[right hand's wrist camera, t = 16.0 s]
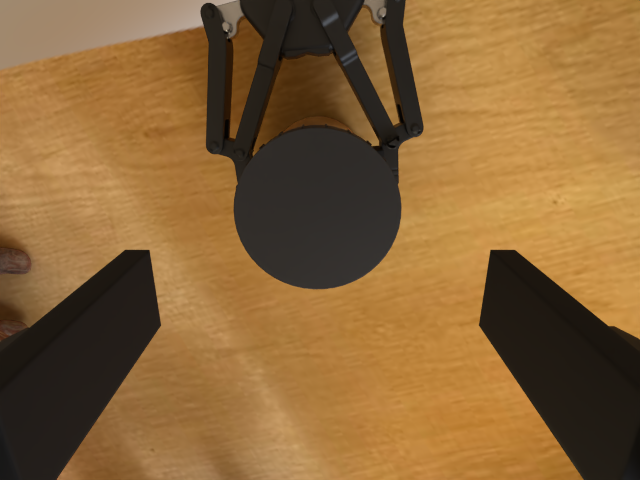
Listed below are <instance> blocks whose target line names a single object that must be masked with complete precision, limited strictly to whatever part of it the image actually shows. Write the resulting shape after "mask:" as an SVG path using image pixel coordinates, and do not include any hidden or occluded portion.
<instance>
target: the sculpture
mask: <svg viewBox="0 0 640 480" xmlns="http://www.w3.org/2000/svg"><path fill="white" fill-rule="evenodd" d="M30 269H31V260H30V258H29V257H28V255H27V254H26V253H24V252H23V251H19V250H15V249H10V248H0V274H7V273H10V274H25V273H27V272H29V271H30ZM25 328H28V327H27V326H26V324H24V323H23V322H18V321H13V320H0V341H2V340H3V339H5V338H7V337H9V336H11V335H13V334H15V333H17V332H19V331H21V330H23V329H25Z"/></svg>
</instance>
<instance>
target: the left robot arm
mask: <svg viewBox="0 0 640 480" xmlns="http://www.w3.org/2000/svg"><path fill="white" fill-rule="evenodd" d="M405 1H406V0H238V1H234V2H230V3H226V4H223V5H219V6H215V5H214V4H212V3H206V4H204V5H203V6H202V7H201V17H202V21H203V24H204V28H205V31H206V34H207V38H208V41H209V55H208V92H207V129H206V148H207V150H208V151H209V152H210V153H212V154H220V155H223V156H227V157H229V158H231V159H232V160H233V162H234V164H235V169H236V175H237V182H239V179H240V177H241V175H242V172H243V170H244V168H245V165H246V164H247V163H248V162H249V161H250V160H251V158H252V157H253V154H252V153H253V151H254V150H253V149H254V146H255V142H256V139H257V136H258V133H259V130H260V127H261V124H262V120H263V117H264V114H265V111H266V108H267V105H268V101H269V98H270V95H271V92H272V89H273V86H274V83H275V79H276V76H277V73H278V71H279V69H280V66H281V63H282V60H283V58H286V59H297V58H300V57H302V56H305V55H313V56H318V57H319V56H329V54H332V53H333V54H334V56H335V58H336V60H337V62H338V64H339V66H340V67H341V69H342V71H343V73H344V75H345V76H346V78H347V80H348V82H349V84H350V86H351V88H352V90H353V92H354V94H355V96H356V98H357V99H358V101H359V103H360V105H361V107H362V109H363V111H364V113H365V115H366V117H367V119H368V121H369V122H370V124H371V126H372V128H373V130H374V132H375V134H376V136H377V138H378V140H379V146H372V147H373V148H374V149H375V150H376V151H377V152H378V153H379V154H380V155H381V156H382V157H384V158H385V159H386V160H387V164H388V165H389V167H390V169H391V171H392V173H393V174H394V177H395V179H396V180H397V185H398V183H399V176H398V149H399V146H400V145H401V144H402V143H403V142H404V141H406V140H408V139H410V138H413V137H418V136H419V135H421V134H422V132H423V122H422V117H421V112H420V107H419V102H418V97H417V92H416V87H415V82H414V77H413V72H412V68H411V63H410V58H409V53H408V48H407V43H406V38H405V33H404V28H403V18H404V10H405ZM362 7H363V8H366V9H368V10H369V12H370V14H371V20H372V22H373V23H374V24H375V25H377V26H380V32H381V40H382V45H383V50H384V54H385V59H386V63H387V68H388V72H389V77H390V81H391V86H392V90H393V95H394V99H395V104H396V108H397V113H398V117H399V122H400V123H398V124H396V125H394V126H393V124H392V122H391V120H390V118H389V116H388V114H387V112H386V111H385V109H384V107H383V105H382V103H381V101H380V99H379V97H378V95H377V93H376V91H375V89H374V87H373V85H372V83H371V81H370V79H369V77H368V75H367V73H366V71H365V69H364V67H363V65H362V63H361V61H360V59H359V57H358V54H357V51H356V49H355V47H354V45H353V43H352V41H351V39H350V37H349V35H348V31H349V29H350V28H351V26H352V24H353V22H354V20H355V19H356V17H357V15H358V13H359V12H360V10H361V8H362ZM245 18H246V19H247V20H248V21H249V22H250V24H251V25H252V26H253V27H254V28H255V30H256V31H257V32H258V33H259V35H260V36H261V37H262V38H263V39H264V41H263V45H262V48H261V51H260V55H259V58H258V65H257V69H256V72H255V75H254V79H253V82H252V85H251V89H250V92H249V95H248V99H247V102H246V105H245V109H244V112H243V115H242V119H241V122H240V125H239V129H238V132H237V135H236V139H233V138H229V137H230V116H231V94H232V72H233V43H232V39H235V38H236V37H237V36H238V34H239V24H240V22H241V21H242V20H243V19H245Z"/></svg>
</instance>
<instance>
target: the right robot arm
mask: <svg viewBox="0 0 640 480" xmlns="http://www.w3.org/2000/svg"><path fill="white" fill-rule="evenodd" d="M160 326H161V322H160V316H159V309H158V303H157V296H156V290H155V283H154V277H153V270H152V264H151V257H150V251H149V250H125V251H123V252H122V253H121V254H120V255H118V256H117V257H116V258H115V259H113V260H112V261H111V262H110V263H109V264H107V265H106V266H105V267H104V268H102V269H101V270H100V271H99V272H98V273H96V274H95V275H94V276H93V277H91V278H90V279H89V280H88V281H86V282H85V283H84V284H83V285H82V286H80V287H79V288H78V289H77V290H75V291H74V292H73V293H72V294H71V295H69V296H68V297H67V298H66V299H64V300H63V301H62V302H61V303H59V304H58V305H57V306H56V307H55V308H53V309H52V310H51V311H50V312H48V313H47V314H46V315H45V316H44V317H42V318H41V319H40V320H39V321H37V322H36V323H35V324H34V325H32V326H31V327H30V328H25V329H23V330H21V331H19V332H17V333H15V334H13V335H11V336H9V337H7V338H5V339H3V340H2V341H0V480H56V479H57V478H58V476H59V475H60V473H61V472H62V470H63V469H64V467H65V466H66V464H67V463H68V462H69V460H70V459H71V457H72V456H73V454H74V453H75V451H76V450H77V448H78V447H79V445H80V444H81V442H82V441H83V439H84V438H85V437H86V435H87V434H88V432H89V431H90V429H91V428H92V426H93V425H94V423H95V422H96V420H97V419H98V417H99V416H100V414H101V413H102V411H103V410H104V409H105V407H106V406H107V404H108V403H109V401H110V400H111V398H112V397H113V395H114V394H115V392H116V391H117V389H118V388H119V386H120V385H121V384H122V382H123V381H124V379H125V378H126V376H127V375H128V373H129V372H130V370H131V369H132V367H133V366H134V364H135V363H136V361H137V360H138V358H139V357H140V356H141V354H142V353H143V351H144V350H145V348H146V347H147V345H148V344H149V342H150V341H151V339H152V338H153V336H154V335H155V333H156V332H157V331H158V329H159V328H160ZM479 326H480V328H481V329H482V331H483V332H484V333H485V335H486V336H487V338H488V339H489V341H490V342H491V344H492V345H493V347H494V348H495V350H496V351H497V353H498V354H499V356H500V357H501V358H502V360H503V361H504V363H505V364H506V366H507V367H508V369H509V370H510V372H511V373H512V375H513V376H514V378H515V379H516V381H517V382H518V384H519V385H520V386H521V388H522V389H523V391H524V392H525V394H526V395H527V397H528V398H529V400H530V401H531V403H532V404H533V406H534V407H535V409H536V410H537V411H538V413H539V414H540V416H541V417H542V419H543V420H544V422H545V423H546V425H547V426H548V428H549V429H550V431H551V432H552V434H553V435H554V437H555V438H556V439H557V441H558V442H559V444H560V445H561V447H562V448H563V450H564V451H565V453H566V454H567V456H568V457H569V459H570V460H571V462H572V463H573V464H574V466H575V467H576V469H577V470H578V472H579V473H580V475H581V476H582V478H583V479H584V480H640V339H638V338H636V337H634V336H632V335H630V334H628V333H626V332H624V331H622V330H620V329H618V328H617V327H615V326H608V325H606V324H605V323H604V322H603V321H601V320H600V319H599V318H598V317H596V316H595V315H594V314H593V313H592V312H590V311H589V310H588V309H587V308H585V307H584V306H583V305H582V304H581V303H579V302H578V301H577V300H576V299H574V298H573V297H572V296H571V295H569V294H568V293H567V292H566V291H565V290H563V289H562V288H561V287H560V286H558V285H557V284H556V283H555V282H554V281H552V280H551V279H550V278H549V277H547V276H546V275H545V274H544V273H542V272H541V271H540V270H539V269H538V268H536V267H535V266H534V265H533V264H531V263H530V262H529V261H528V260H527V259H525V258H524V257H523V256H522V255H520V254H519V253H518V252H517V251H515V250H491V251H490V257H489V264H488V270H487V277H486V283H485V290H484V296H483V303H482V309H481V316H480V322H479Z"/></svg>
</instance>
